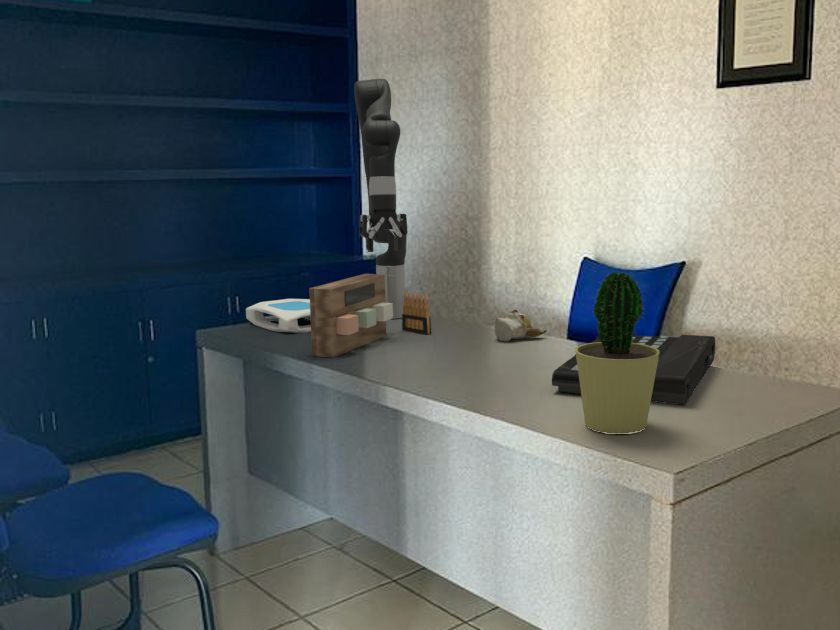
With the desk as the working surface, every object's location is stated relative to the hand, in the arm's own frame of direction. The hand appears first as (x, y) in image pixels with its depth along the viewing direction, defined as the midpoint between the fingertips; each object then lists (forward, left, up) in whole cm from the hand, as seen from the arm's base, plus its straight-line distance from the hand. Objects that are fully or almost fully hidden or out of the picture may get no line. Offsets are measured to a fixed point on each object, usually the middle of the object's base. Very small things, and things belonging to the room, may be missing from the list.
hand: (383, 251), depth 243 cm
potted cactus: (+10, +97, -25) cm, 100 cm away
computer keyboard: (-23, +73, -26) cm, 81 cm away
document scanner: (+10, -38, -26) cm, 47 cm away
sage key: (+10, +4, -19) cm, 22 cm away
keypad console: (+12, +2, -25) cm, 28 cm away
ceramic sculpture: (-28, +24, -26) cm, 45 cm away
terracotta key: (+19, +9, -19) cm, 29 cm away
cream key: (+2, -1, -19) cm, 19 cm away
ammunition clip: (-12, -2, -26) cm, 28 cm away
